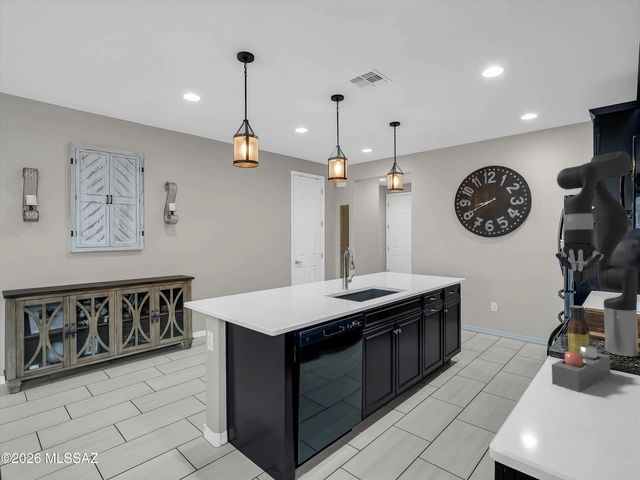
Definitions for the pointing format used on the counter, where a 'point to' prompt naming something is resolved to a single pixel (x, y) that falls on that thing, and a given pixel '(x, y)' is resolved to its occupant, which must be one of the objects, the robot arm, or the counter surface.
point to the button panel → (580, 373)
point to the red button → (574, 359)
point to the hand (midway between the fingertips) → (579, 282)
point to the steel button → (588, 352)
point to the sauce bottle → (577, 329)
